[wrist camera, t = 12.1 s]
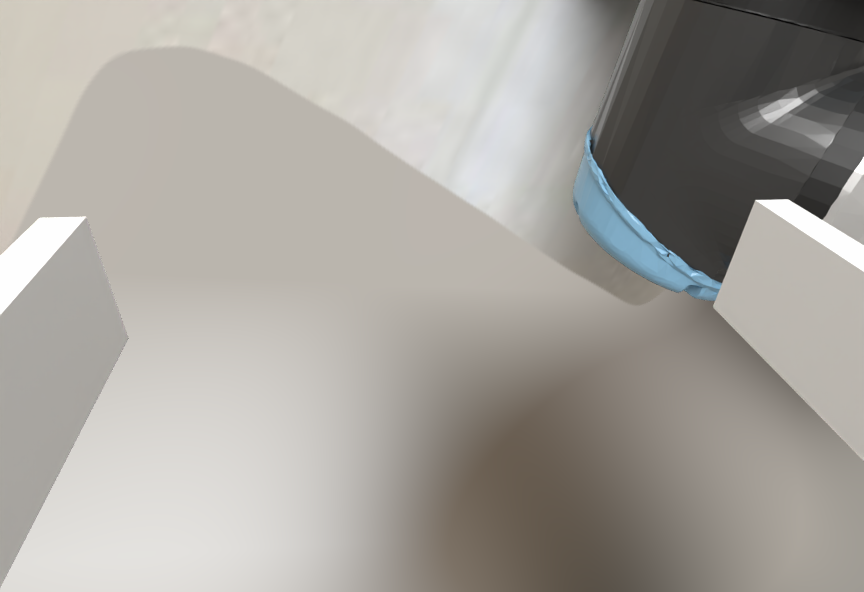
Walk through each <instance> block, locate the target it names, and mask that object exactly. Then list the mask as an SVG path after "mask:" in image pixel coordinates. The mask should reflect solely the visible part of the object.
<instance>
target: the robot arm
mask: <svg viewBox="0 0 864 592" xmlns="http://www.w3.org/2000/svg"><path fill="white" fill-rule="evenodd" d="M584 149H585V152H584V155H583V158H582V161H581V164H580V168H579V171H578V174H577V177H576V180H575V183H574V188H573V202H574V206H575V209H576V212H577V214H578V215H579V219H580V221H581V223H582V225H583V227H584V228H585V229H586V231H587V232H588V233H589V235H590V236H591V237H592V238H593V239H594V240H595V241H596V242H597V243H598V244H599V245H600V246H601V247H602V248H603V249H604V250H605V251H606V252H607V253H608V254H610V255H611V256H612V257H613V258H615V259H616V260H617V261H619V262H620V263H622V264H623V265H624V266H626V267H627V268H629V269H630V270H632V271H633V272H635V273H637V274H638V275H640V276H642V277H643V278H645V279H647V280H649V281H651V282H653V283H655V284H657V285H659V286H661V287H664V288H666V289H669V290H671V291H674V292H681V291H683V290H684V291H686V292H687V293H688V294H690V295H691V296H692V297H694V298H697V299H702V300H709V301H715V303H714V305H713V307H714V309H715V310H716V311H717V312H718V313H719V314H720V315H721V316H722V317H723V318H724V319H725V320H726V321H727V322H728V323H729V324H730V325H731V326H732V327H733V328H734V329H735V330H736V331H737V332H738V333H739V334H740V335H741V336H742V337H743V338H744V339H745V340H746V341H747V342H748V343H749V345H750V346H751V347H752V348H754V350H755V351H756V352H757V353H758V354H759V355H760V356H761V357H762V358H763V359H764V360H765V361H766V362H767V363H768V364H769V365H770V366H771V367H772V368H773V369H774V370H775V371H776V372H777V373H778V374H779V375H780V376H781V377H782V378H783V379H784V380H785V381H786V382H787V383H788V384H789V385H790V386H791V387H792V388H793V389H794V390H795V392H797V394H799V396H800V397H801V398H802V399H803V400H804V401H805V402H806V403H807V404H808V405H809V406H810V407H811V408H812V409H813V410H814V411H815V412H816V413H817V414H818V415H819V416H820V417H821V418H822V419H823V420H824V421H825V422H826V423H827V424H828V425H829V426H830V427H831V428H832V429H833V430H834V431H835V432H836V433H837V434H838V435H839V436H840V437H841V438H842V439H843V440H844V441H845V443H847V445H848V446H849V447H850V448H851V449H852V450H853V451H854V452H855V453H856V454H857V455H858V456H859V457H860V458H861V459H862V460H863V461H864V0H640V1H639V4H638V7H637V10H636V12H635V15H634V18H633V20H632V23H631V26H630V29H629V31H628V34H627V37H626V40H625V42H624V45H623V48H622V50H621V53H620V56H619V58H618V61H617V63H616V66H615V69H614V71H613V74H612V76H611V79H610V82H609V84H608V87H607V89H606V92H605V95H604V97H603V100H602V103H601V105H600V108H599V110H598V113H597V116H596V118H595V121H594V123H593V125H592V127H591V128H590V129H589V131H588V132H587V135H586V138H585V146H584ZM127 340H128V335H127V332H126V330H125V327H124V324H123V321H122V318H121V315H120V313H119V310H118V307H117V304H116V301H115V298H114V295H113V292H112V289H111V286H110V284H109V281H108V278H107V275H106V272H105V269H104V266H103V263H102V261H101V258H100V255H99V252H98V249H97V246H96V243H95V240H94V238H93V235H92V232H91V229H90V226H89V224H88V220H87V218H86V217H56V218H39V219H38V220H37V221H36V222H35V223H34V224H33V225H32V226H31V227H30V228H29V229H28V230H27V231H26V232H24V234H22V235H21V236H20V237H19V238H18V239H17V240H16V241H15V242H14V243H13V244H12V245H11V246H10V247H9V248H8V249H7V250H6V251H5V252H4V253H3V254H2V255H1V256H0V587H1V585H2V583H3V581H4V579H5V577H6V576H7V573H8V572H9V570H10V568H11V566H12V564H13V562H14V560H15V558H16V556H17V554H18V552H19V550H20V548H21V546H22V544H23V542H24V541H25V539H26V537H27V535H28V533H29V531H30V529H31V527H32V525H33V523H34V521H35V519H36V517H37V515H38V513H39V511H40V509H41V507H42V506H43V503H44V502H45V500H46V498H47V496H48V494H49V492H50V490H51V488H52V486H53V484H54V482H55V480H56V478H57V476H58V474H59V473H60V470H61V469H62V467H63V465H64V463H65V461H66V459H67V457H68V455H69V453H70V451H71V449H72V447H73V445H74V443H75V441H76V439H77V437H78V436H79V434H80V431H81V429H82V428H83V426H84V424H85V422H86V420H87V418H88V416H89V414H90V412H91V410H92V408H93V406H94V404H95V403H96V400H97V399H98V396H99V394H100V393H101V391H102V389H103V387H104V385H105V383H106V381H107V379H108V377H109V375H110V373H111V371H112V369H113V367H114V366H115V364H116V362H117V360H118V358H119V356H120V354H121V352H122V350H123V348H124V346H125V344H126V342H127Z"/></svg>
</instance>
